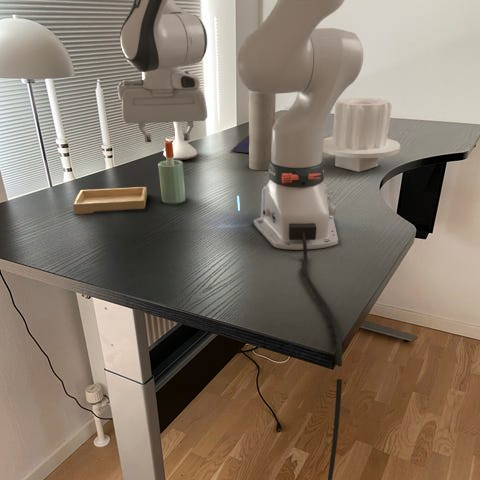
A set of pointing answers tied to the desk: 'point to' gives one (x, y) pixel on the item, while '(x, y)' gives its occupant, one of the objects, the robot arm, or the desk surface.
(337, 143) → the flanged gear
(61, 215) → the desk surface
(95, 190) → the tray
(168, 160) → the marker
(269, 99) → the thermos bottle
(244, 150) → the blue flat triangle
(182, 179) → the pen cup
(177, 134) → the flower in vase
